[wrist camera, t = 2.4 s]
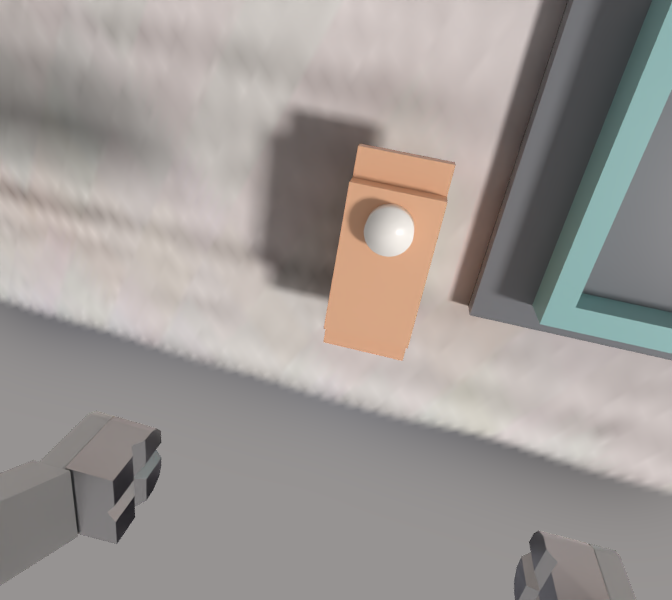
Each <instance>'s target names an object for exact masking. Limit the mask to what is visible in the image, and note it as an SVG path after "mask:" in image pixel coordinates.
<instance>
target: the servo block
mask: <svg viewBox="0 0 672 600" xmlns="http://www.w3.org/2000/svg"><path fill="white" fill-rule="evenodd" d="M454 168H455V162H450V161H445V160H440V159H435V158H430V157H425V156H420V155H415V154H410V153H405V152H400V151H395V150H390V149H385V148H380V147H375V146H370V145H365V144H359V145H358V149H357V155H356V161H355V166H354V172H353V177H352V179H351V180H350V182H349V187H348V192H347V198H346V204H345V210H344V215H343V221H342V227H341V233H340V238H339V244H338V250H337V256H336V261H335V267H334V273H333V278H332V284H331V290H330V296H329V301H328V307H327V313H326V319H325V324H324V329H326V330H325V336H324V342H325V343H329V344H334V345H338V346H342V347H346V348H351V349H355V350H359V351H363V352H368V353H372V354H376V355H380V356H384V357H389V358H393V359H397V360H401V361H402V360H403V357H404V353H405V349H406V348H408V345H409V341H410V337H411V334H412V330H413V327H414V323H415V319H416V316H417V312H418V308H419V305H420V301H421V297H422V294H423V290H424V286H425V283H426V279H427V275H428V272H429V268H430V264H431V261H432V257H433V253H434V250H435V246H436V242H437V239H438V235H439V231H440V228H441V224H442V220H443V217H444V213H445V209H446V206H447V194H448V191H449V187H450V183H451V180H452V176H453V172H454Z"/></svg>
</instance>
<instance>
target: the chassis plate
mask: <svg viewBox="0 0 672 600" xmlns="http://www.w3.org/2000/svg"><path fill="white" fill-rule="evenodd" d="M469 313H470V315H472V316H476V317H481V318H485V319H490V320H494V321H499V322H503V323H508V324H512V325H517V326H521V327H526V328H530V329H534V330H539V331H543V332H548V333H552V334H557V335H561V336H566V337H570V338H575V339H579V340H584V341H588V342H593V343H597V344H601V345H606V346H610V347H615V348H619V349H624V350H628V351H633V352H637V353H642V354H646V355H651V356H655V357H659V358H664V359H668V360H672V0H568V3H567V6H566V9H565V12H564V15H563V18H562V21H561V24H560V27H559V30H558V33H557V36H556V39H555V42H554V46H553V49H552V52H551V55H550V58H549V61H548V64H547V67H546V70H545V73H544V76H543V79H542V82H541V85H540V89H539V92H538V95H537V98H536V101H535V104H534V107H533V110H532V113H531V116H530V119H529V122H528V125H527V128H526V132H525V135H524V138H523V141H522V144H521V147H520V150H519V153H518V156H517V159H516V162H515V165H514V168H513V172H512V175H511V178H510V181H509V184H508V187H507V190H506V193H505V196H504V199H503V202H502V205H501V208H500V211H499V215H498V218H497V221H496V224H495V227H494V230H493V233H492V236H491V239H490V242H489V245H488V248H487V251H486V254H485V258H484V261H483V264H482V267H481V270H480V273H479V276H478V279H477V282H476V285H475V288H474V291H473V294H472V297H471V301H470V304H469Z"/></svg>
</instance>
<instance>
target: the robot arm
mask: <svg viewBox="0 0 672 600" xmlns="http://www.w3.org/2000/svg"><path fill="white" fill-rule="evenodd" d="M160 444H161V431H160V430H158V429H157V428H153V427H150V426H147V425H143V424H140V423H137V422H133V421H129V420H126V419H123V418H119V417H115V416H112V415H108V414H105V413H102V412H98V411H94V412H92V413H89V414H88V415H87V416H85V417H84V418H83V419H82V421H80V422H79V423H78V424H77V425H76V426H75V427H74V428H73V429H72V430H71V431H70V432H69V433H68V434H67V435H66V436H65V437H64V438H63V439H62V440H61V441H60V442H59V443H58V444H57V445H56V446H55V447H54V448H53V449H52V450H51V451H50V452H49V453H48V454H47V455H46V456H45V457H44V458H43V459H42V460H41V461H40V462H38V461H34V460H32V461H30V462H27V463H25V464H22V465H19V466H17V467H14V468H12V469H9V470H7V471H4V472H2V473H0V585H2V584H4V583H5V582H7V581H8V580H10V579H11V578H13V577H15V576H16V575H18V574H19V573H21V572H23V571H24V570H26V569H27V568H29V567H30V566H32V565H33V564H35V563H37V562H38V561H40V560H42V559H43V558H44V557H46V556H48V555H49V554H51V553H52V552H54V551H56V550H57V549H59V548H60V547H62V546H64V545H65V544H67V543H68V542H70V541H71V540H73V539H75V538H76V537H77V536H78V534H80V535H84V536H88V537H92V538H96V539H99V540H103V541H108V542H111V543H115V544H117V543H118V542H119V540H120V539H121V537H122V536H123V534H124V533H125V531H126V530H127V529H128V527H129V525H130V524H131V523H132V521H133V520H134V518H135V506H137V505H139V504H141V503H142V502H144V501H146V500H147V499H148V497H149V496H150V494H151V493H152V491H153V489H154V487H155V485H156V483H157V480H158V478H159V475H160V470H161V456H160V455H159V453H158V452H157V450H156V449H157V448H158V446H159V445H160ZM529 544H530V550H531V552H530V553H528V554H526V555H523V556H522V557H521V559H520V561H519V563H518V565H517V569H516V574H515V579H514V595H515V600H636V597H635V595H634V592H633V589H632V586H631V584H630V581H629V579H628V576H627V573H626V571H625V568H624V565H623V563H622V560H621V557H620V556H619V554H618V553H617V552H616V551H615V550H611V549H607V548H603V547H600V546H596V545H592V544H587V543H585V542H581V541H577V540H574V539H570V538H565V537H562V536H558V535H554V534H550V533H546V532H542V531H537V532H535V533H534V534H533V536H532V537H531V539H530V541H529Z"/></svg>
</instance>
